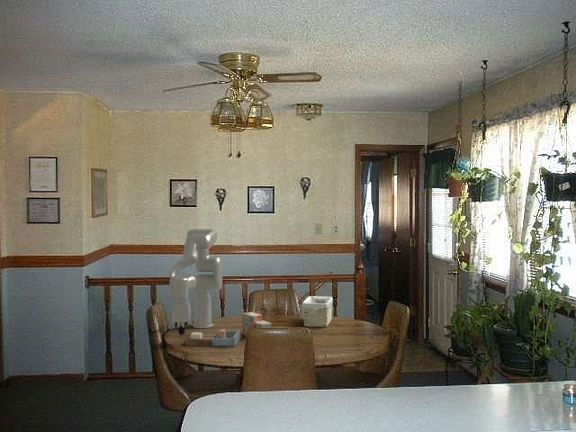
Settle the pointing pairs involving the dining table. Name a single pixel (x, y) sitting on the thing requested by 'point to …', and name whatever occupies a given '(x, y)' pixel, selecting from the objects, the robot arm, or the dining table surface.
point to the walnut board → (201, 340)
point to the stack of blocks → (253, 321)
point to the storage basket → (317, 311)
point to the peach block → (222, 334)
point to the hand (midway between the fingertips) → (181, 334)
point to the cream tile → (196, 335)
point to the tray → (228, 339)
